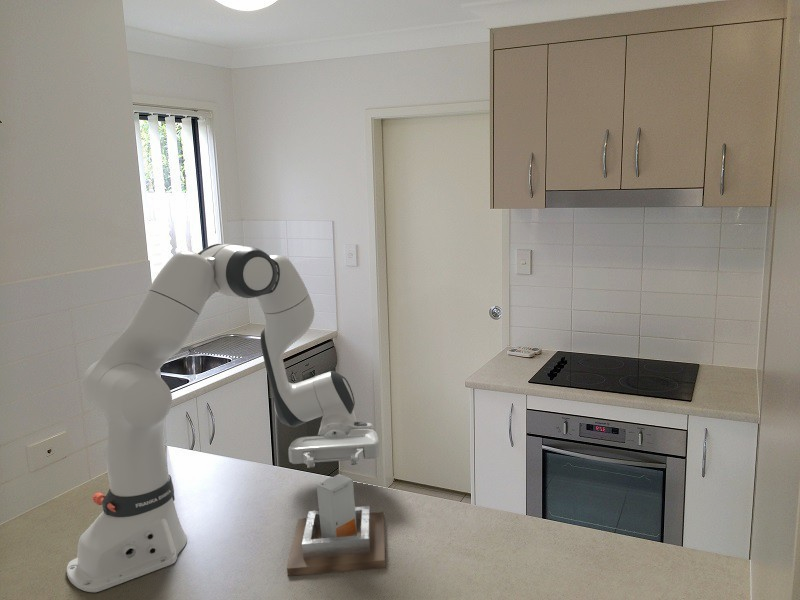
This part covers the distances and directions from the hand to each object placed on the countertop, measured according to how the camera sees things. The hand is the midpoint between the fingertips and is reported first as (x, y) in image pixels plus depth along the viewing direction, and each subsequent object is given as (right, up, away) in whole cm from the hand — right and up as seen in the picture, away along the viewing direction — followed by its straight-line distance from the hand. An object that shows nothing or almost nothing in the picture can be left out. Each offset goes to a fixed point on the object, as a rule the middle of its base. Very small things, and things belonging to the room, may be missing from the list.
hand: (332, 463), depth 144 cm
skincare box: (+3, -12, -11) cm, 17 cm away
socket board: (+2, -14, -11) cm, 17 cm away
